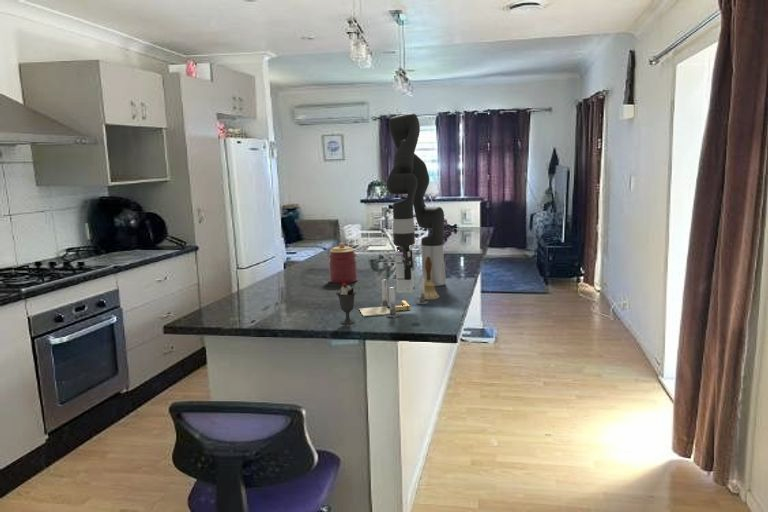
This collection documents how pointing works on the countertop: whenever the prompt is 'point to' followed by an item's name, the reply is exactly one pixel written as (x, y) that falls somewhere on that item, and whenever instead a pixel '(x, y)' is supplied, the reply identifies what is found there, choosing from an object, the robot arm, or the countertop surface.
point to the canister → (342, 264)
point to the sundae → (346, 301)
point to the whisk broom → (429, 282)
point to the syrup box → (403, 284)
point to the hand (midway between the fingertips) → (405, 277)
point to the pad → (374, 311)
